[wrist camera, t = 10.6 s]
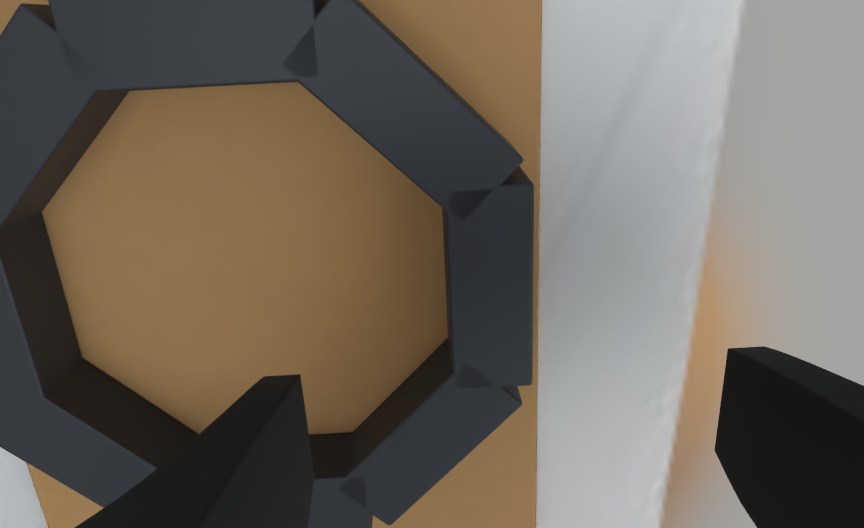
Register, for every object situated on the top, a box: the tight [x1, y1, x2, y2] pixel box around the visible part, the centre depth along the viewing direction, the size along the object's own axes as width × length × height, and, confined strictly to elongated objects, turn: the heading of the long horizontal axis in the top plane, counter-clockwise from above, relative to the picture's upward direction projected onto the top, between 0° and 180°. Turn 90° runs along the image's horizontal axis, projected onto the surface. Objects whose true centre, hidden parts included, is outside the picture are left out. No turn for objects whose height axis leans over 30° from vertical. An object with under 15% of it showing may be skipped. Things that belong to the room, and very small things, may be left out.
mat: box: [0, 0, 542, 528], centre depth 17 cm, size 19×15×1 cm
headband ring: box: [0, 0, 534, 528], centre depth 16 cm, size 14×14×2 cm
